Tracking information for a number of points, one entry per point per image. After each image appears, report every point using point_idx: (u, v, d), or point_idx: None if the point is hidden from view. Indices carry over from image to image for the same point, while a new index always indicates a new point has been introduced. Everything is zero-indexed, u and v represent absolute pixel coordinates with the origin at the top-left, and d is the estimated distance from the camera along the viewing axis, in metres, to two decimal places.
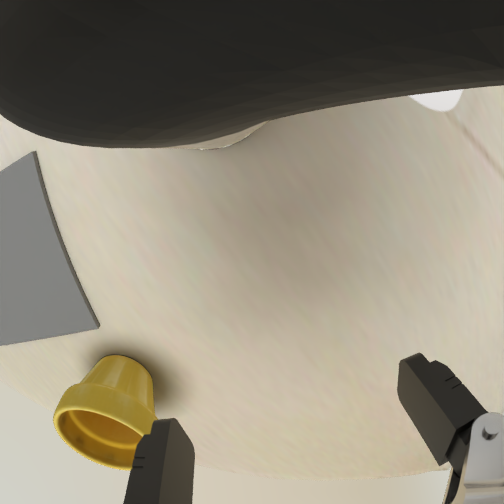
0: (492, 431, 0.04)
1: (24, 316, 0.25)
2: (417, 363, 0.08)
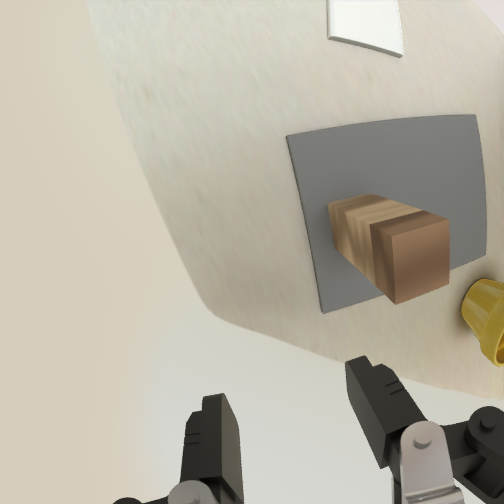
0: (424, 440, 0.05)
1: None
2: (359, 366, 0.09)
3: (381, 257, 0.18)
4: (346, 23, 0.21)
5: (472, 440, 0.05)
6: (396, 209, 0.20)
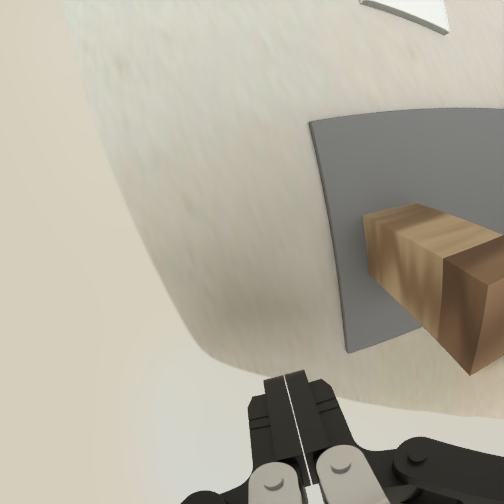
0: (342, 466, 0.05)
1: None
2: (295, 380, 0.09)
3: (459, 308, 0.10)
4: None
5: (403, 474, 0.05)
6: (467, 231, 0.12)
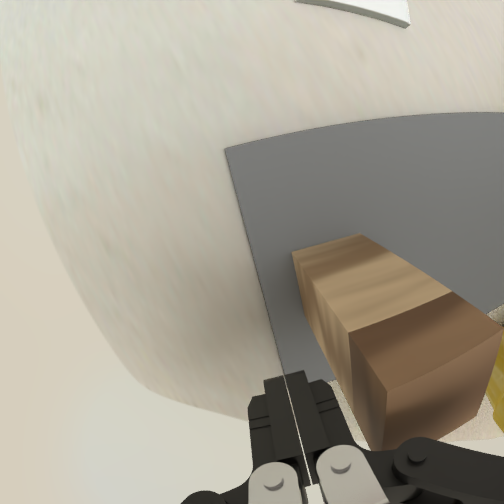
0: (342, 466, 0.05)
1: None
2: (295, 380, 0.09)
3: (365, 396, 0.08)
4: None
5: (403, 474, 0.05)
6: (403, 284, 0.11)
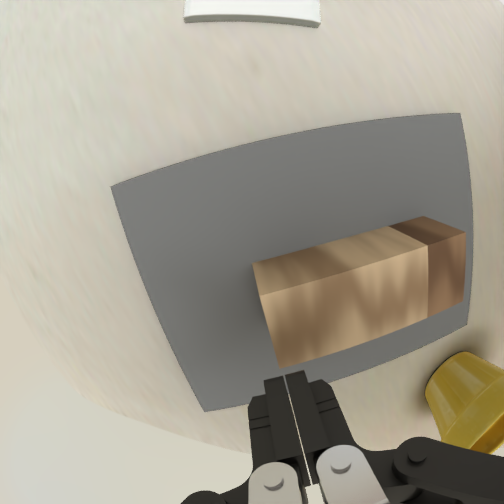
0: (342, 466, 0.05)
1: None
2: (295, 380, 0.09)
3: (446, 269, 0.14)
4: None
5: (403, 474, 0.05)
6: (374, 237, 0.17)
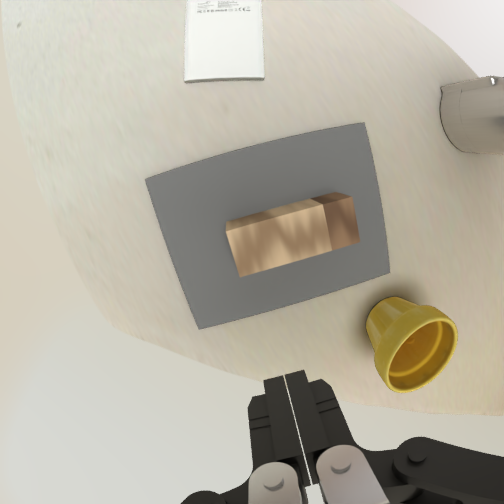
0: (342, 466, 0.05)
1: (316, 272, 0.33)
2: (295, 380, 0.09)
3: (340, 219, 0.27)
4: (199, 62, 0.25)
5: (403, 474, 0.05)
6: (297, 204, 0.29)
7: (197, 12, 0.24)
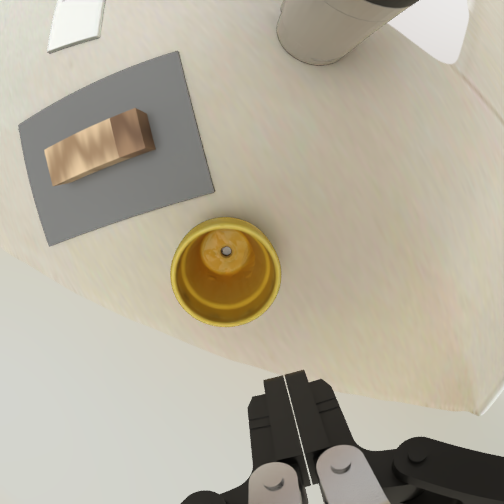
0: (342, 466, 0.05)
1: (132, 190, 0.33)
2: (295, 380, 0.09)
3: (125, 129, 0.27)
4: (57, 37, 0.25)
5: (403, 474, 0.05)
6: None
7: (62, 1, 0.23)
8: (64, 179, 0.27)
